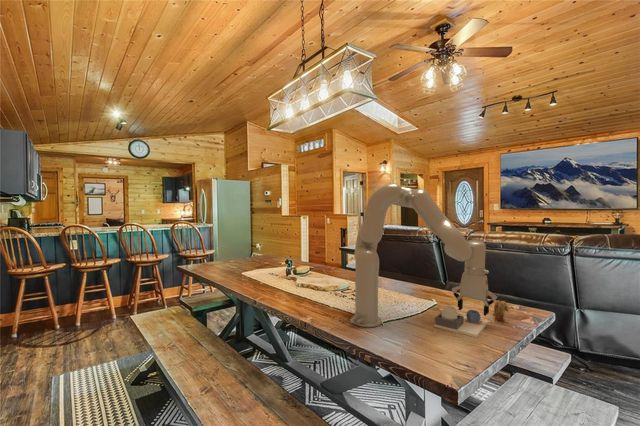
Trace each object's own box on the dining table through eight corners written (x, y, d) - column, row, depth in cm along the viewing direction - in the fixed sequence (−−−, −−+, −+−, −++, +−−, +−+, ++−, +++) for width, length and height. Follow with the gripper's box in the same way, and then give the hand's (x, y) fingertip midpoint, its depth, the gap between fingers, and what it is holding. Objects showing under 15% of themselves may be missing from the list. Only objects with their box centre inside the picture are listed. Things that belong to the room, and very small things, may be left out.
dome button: (454, 325, 128) (454, 309, 128) (439, 321, 132) (439, 306, 132) (459, 321, 133) (459, 305, 133) (444, 317, 137) (444, 302, 136)
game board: (476, 337, 122) (476, 327, 122) (434, 326, 132) (434, 317, 132) (488, 323, 136) (488, 313, 135) (448, 314, 146) (449, 305, 146)
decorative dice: (475, 319, 137) (475, 309, 137) (480, 322, 133) (480, 313, 133) (466, 319, 137) (466, 309, 137) (470, 322, 133) (470, 313, 133)
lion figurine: (510, 324, 134) (511, 303, 134) (496, 323, 136) (496, 302, 135) (501, 312, 148) (501, 293, 148) (488, 311, 150) (488, 292, 149)
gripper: (499, 273, 131) (497, 314, 132) (455, 266, 142) (454, 305, 143) (495, 276, 126) (493, 319, 126) (449, 269, 137) (448, 309, 137)
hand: (472, 312), depth 135 cm, fingers open, 9 cm apart
